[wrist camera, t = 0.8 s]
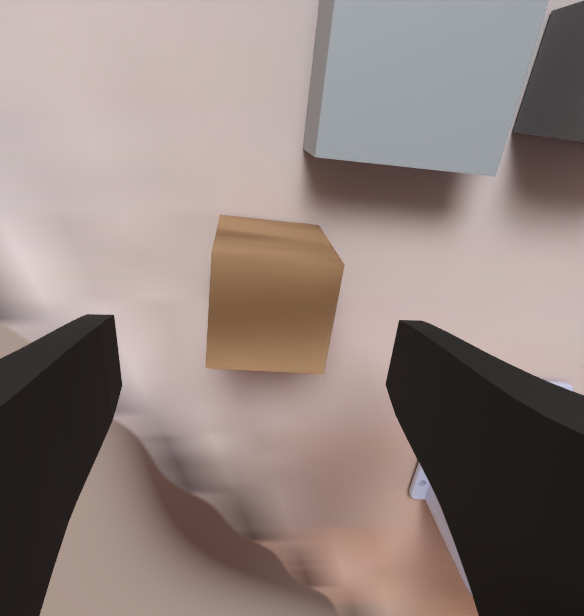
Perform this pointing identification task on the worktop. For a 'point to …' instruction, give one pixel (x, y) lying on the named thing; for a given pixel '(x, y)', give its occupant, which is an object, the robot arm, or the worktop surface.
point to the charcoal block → (557, 80)
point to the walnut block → (271, 296)
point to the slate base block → (419, 81)
